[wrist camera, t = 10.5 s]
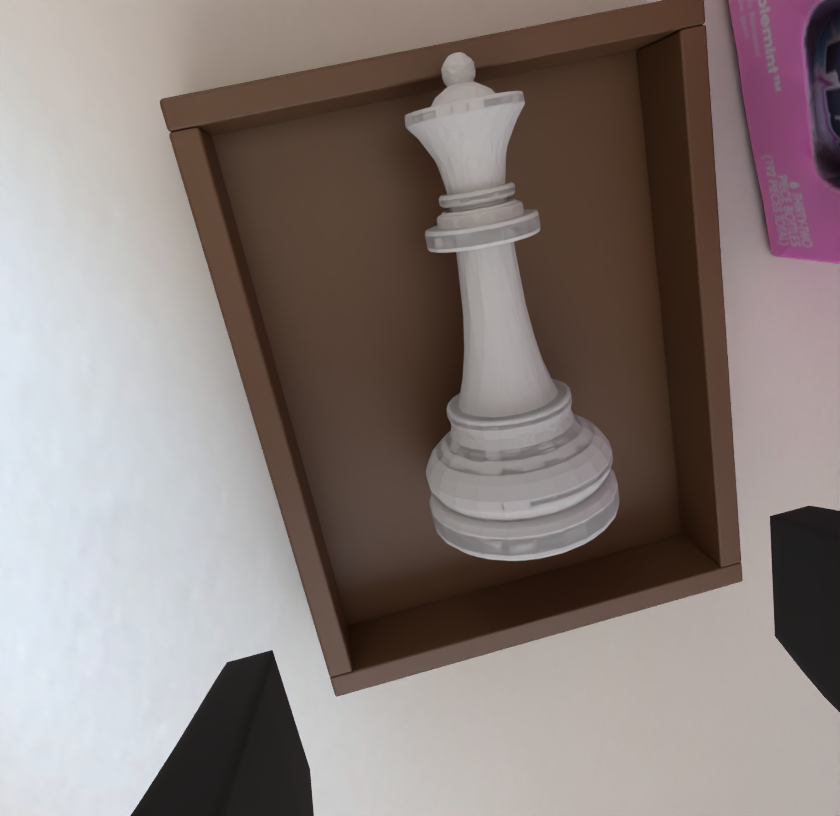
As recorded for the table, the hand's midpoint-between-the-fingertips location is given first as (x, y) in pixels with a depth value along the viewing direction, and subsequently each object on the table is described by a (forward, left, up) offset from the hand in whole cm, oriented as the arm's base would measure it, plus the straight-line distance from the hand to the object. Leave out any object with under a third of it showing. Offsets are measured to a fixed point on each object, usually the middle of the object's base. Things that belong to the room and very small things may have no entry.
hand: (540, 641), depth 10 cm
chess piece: (-2, -2, -7) cm, 7 cm away
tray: (+2, -2, -9) cm, 10 cm away
